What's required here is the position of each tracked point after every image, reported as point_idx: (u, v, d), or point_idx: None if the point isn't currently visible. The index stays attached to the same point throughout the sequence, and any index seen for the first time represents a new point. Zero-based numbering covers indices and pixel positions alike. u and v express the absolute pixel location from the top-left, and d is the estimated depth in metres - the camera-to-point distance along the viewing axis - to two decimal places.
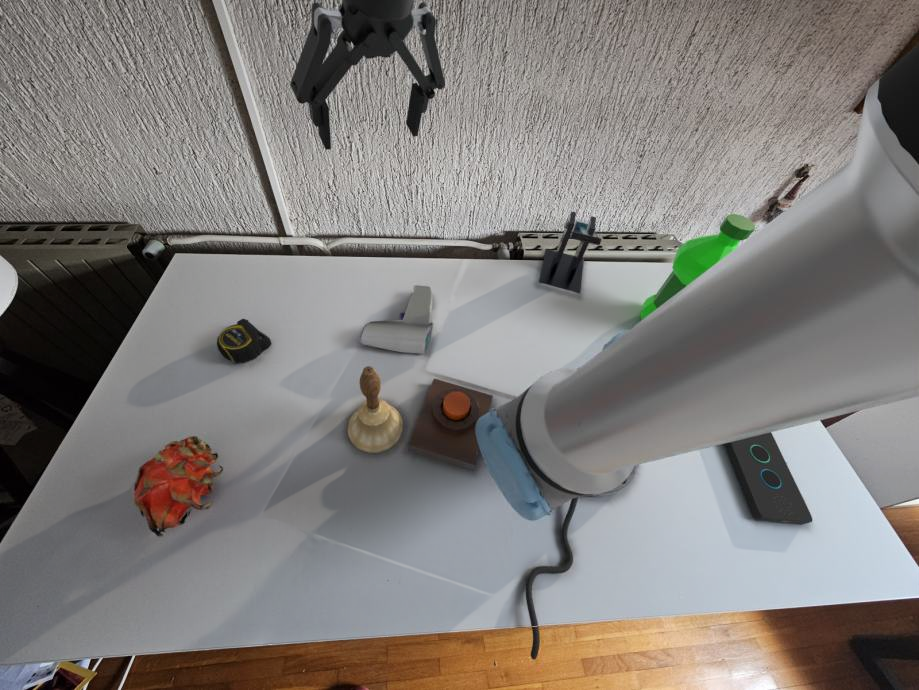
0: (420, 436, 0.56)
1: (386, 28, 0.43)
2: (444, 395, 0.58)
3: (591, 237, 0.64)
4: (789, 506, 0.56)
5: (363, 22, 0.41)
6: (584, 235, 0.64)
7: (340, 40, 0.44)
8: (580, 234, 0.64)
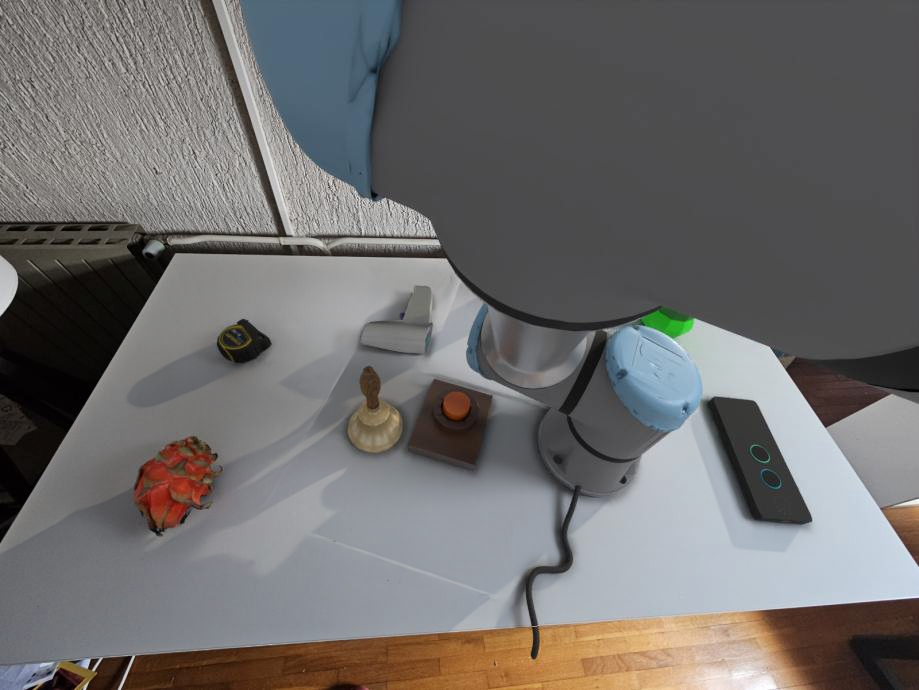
0: (420, 436, 0.56)
1: None
2: (444, 395, 0.58)
3: None
4: (789, 506, 0.56)
5: None
6: None
7: None
8: None
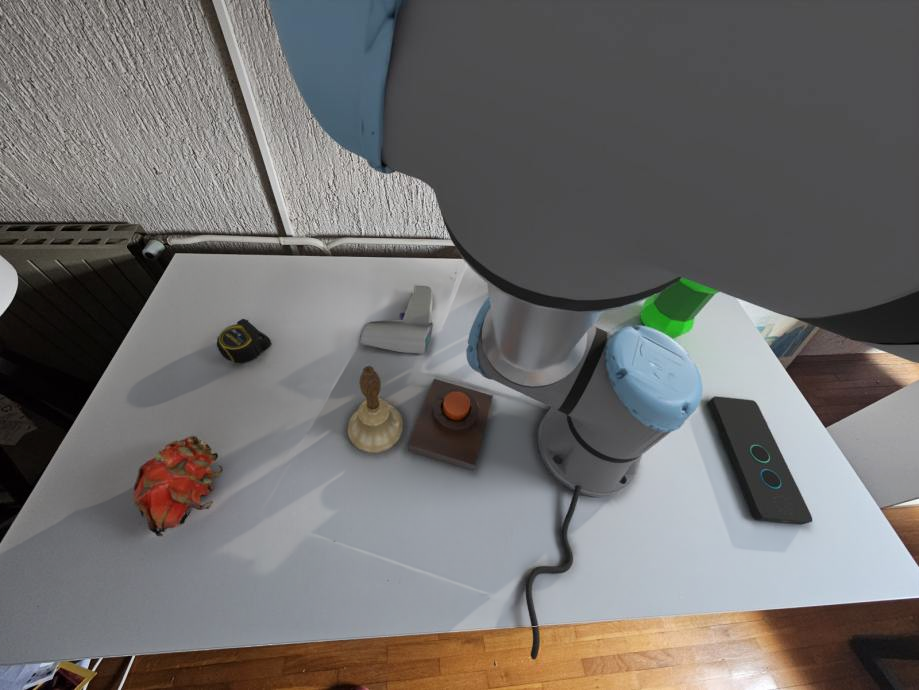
0: (420, 436, 0.56)
1: None
2: (444, 395, 0.58)
3: None
4: (789, 506, 0.56)
5: None
6: None
7: None
8: None
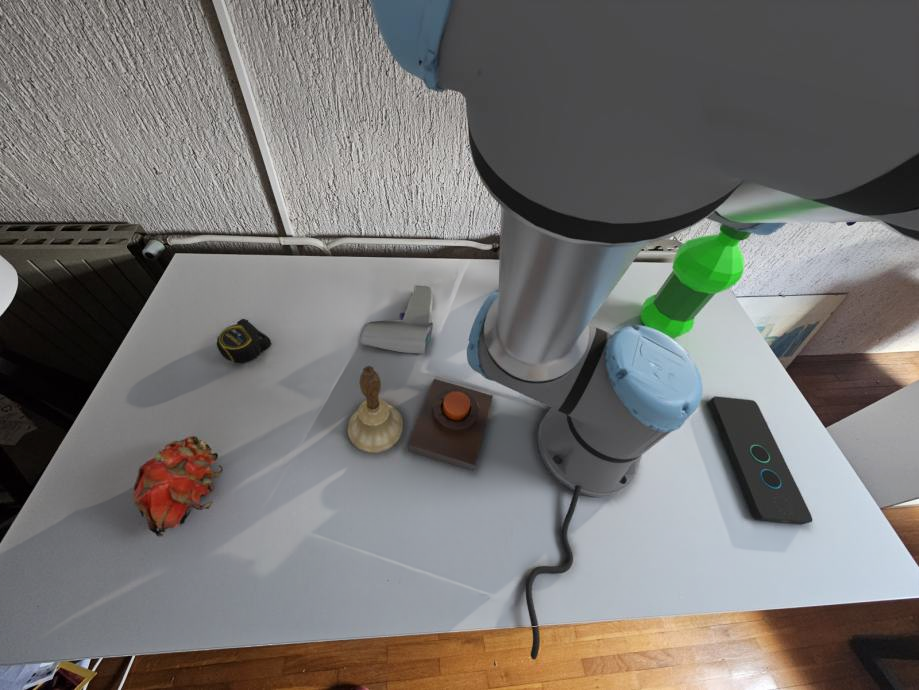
0: (420, 436, 0.56)
1: None
2: (444, 395, 0.58)
3: None
4: (789, 506, 0.56)
5: None
6: None
7: None
8: None
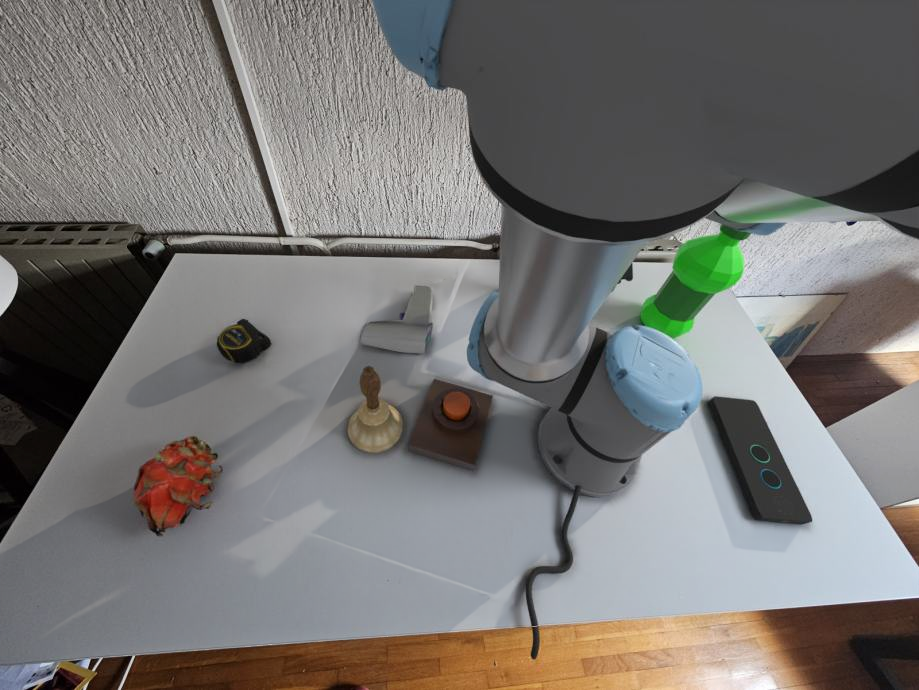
0: (420, 436, 0.56)
1: None
2: (444, 395, 0.58)
3: None
4: (789, 506, 0.56)
5: None
6: None
7: None
8: None
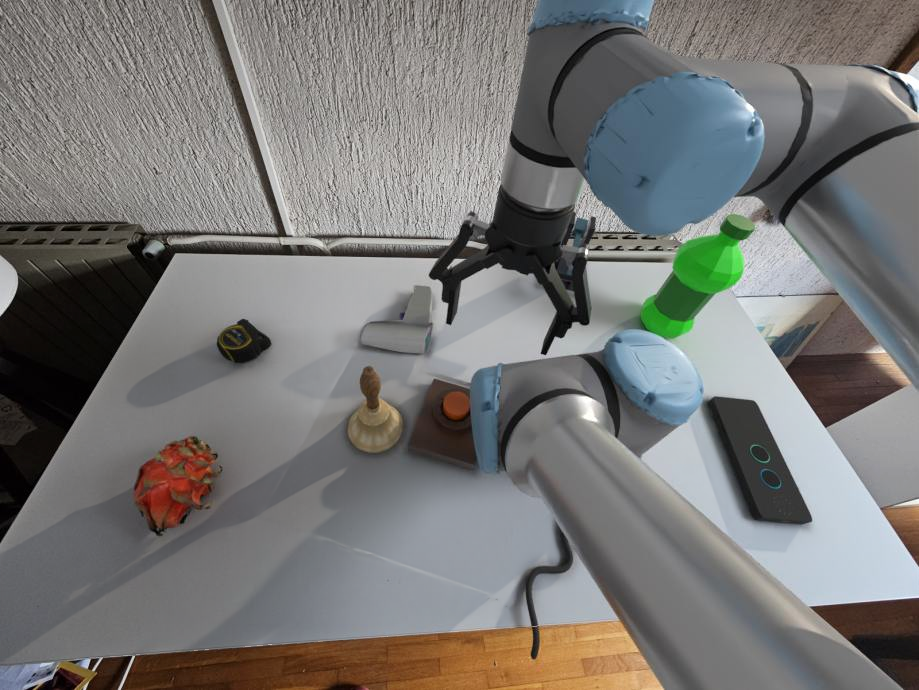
0: (420, 436, 0.56)
1: (527, 250, 0.40)
2: (444, 395, 0.58)
3: None
4: (789, 506, 0.56)
5: (503, 238, 0.40)
6: (567, 277, 0.71)
7: (488, 246, 0.44)
8: (563, 276, 0.71)
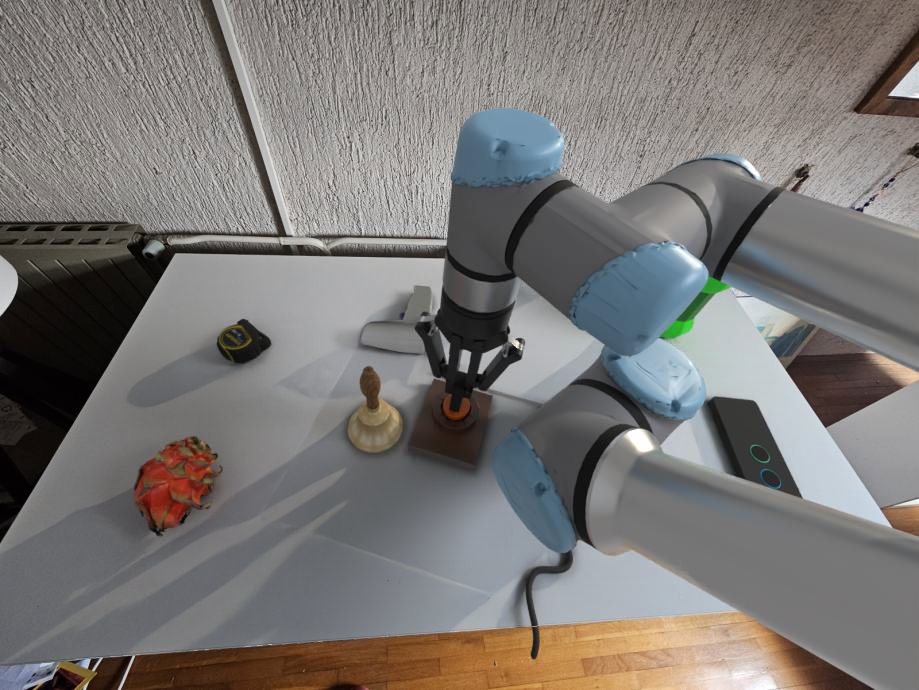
0: (420, 436, 0.56)
1: None
2: (444, 395, 0.58)
3: None
4: None
5: None
6: None
7: None
8: None
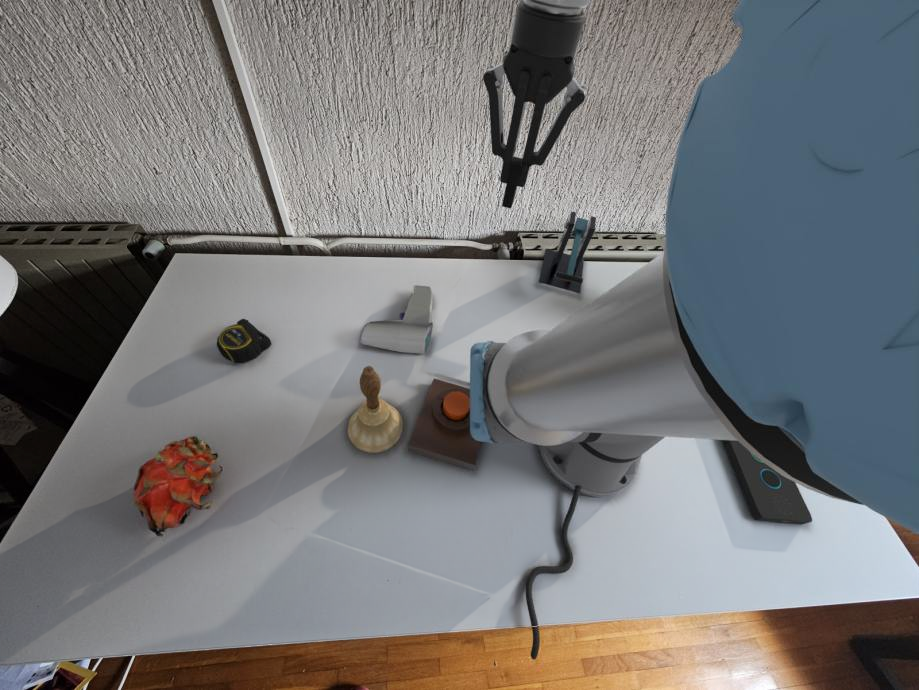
0: (420, 436, 0.56)
1: (542, 74, 0.45)
2: (444, 395, 0.58)
3: (573, 279, 0.71)
4: (789, 506, 0.56)
5: (520, 62, 0.44)
6: (567, 277, 0.71)
7: None
8: (563, 276, 0.71)
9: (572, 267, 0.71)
